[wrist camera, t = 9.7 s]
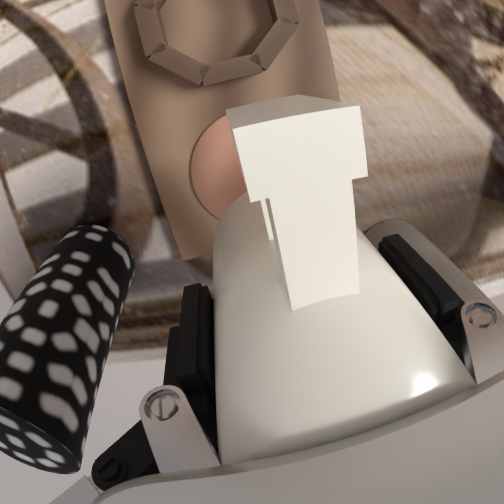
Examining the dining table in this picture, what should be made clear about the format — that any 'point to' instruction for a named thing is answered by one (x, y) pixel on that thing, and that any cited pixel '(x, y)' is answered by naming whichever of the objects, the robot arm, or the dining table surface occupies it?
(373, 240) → the thermos bottle
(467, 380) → the white ceramic pitcher
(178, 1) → the holder board
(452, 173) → the dining table surface
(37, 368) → the white-spotted black cylinder
